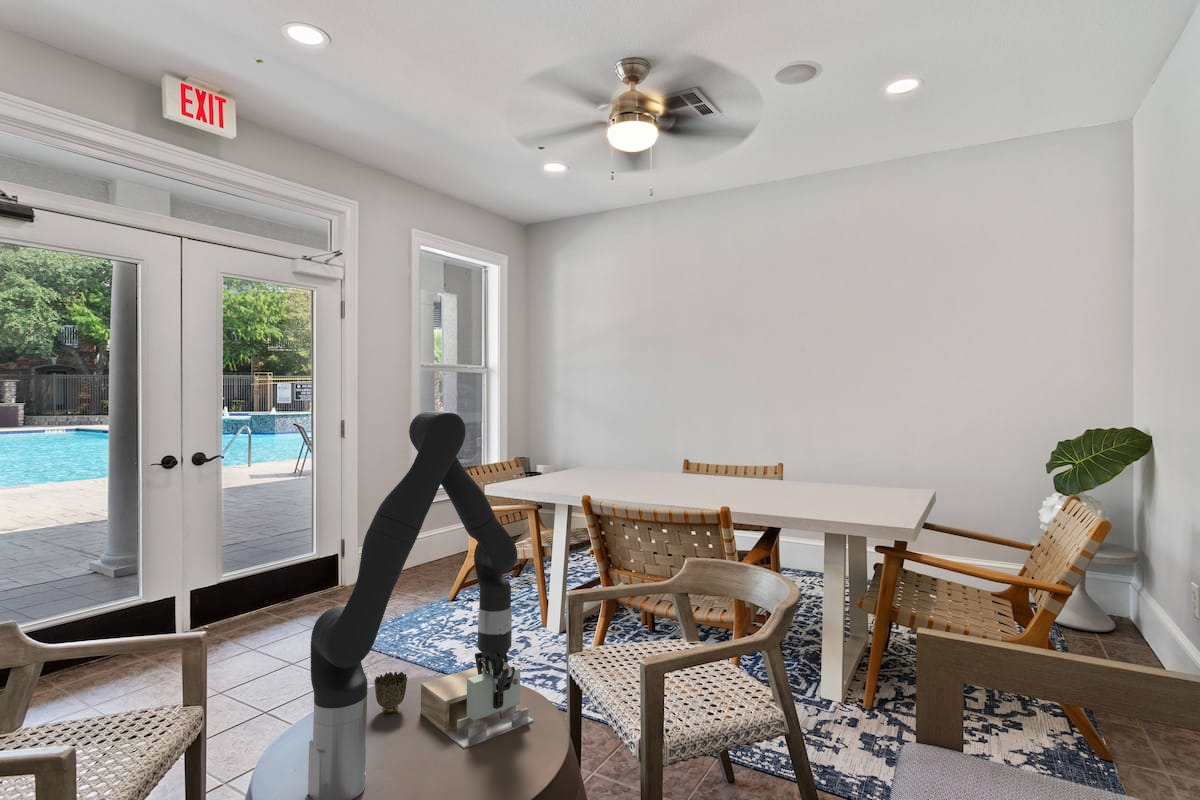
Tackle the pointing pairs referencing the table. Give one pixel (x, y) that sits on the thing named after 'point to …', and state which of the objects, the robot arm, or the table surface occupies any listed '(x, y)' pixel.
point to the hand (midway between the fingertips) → (493, 704)
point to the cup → (390, 691)
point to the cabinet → (465, 711)
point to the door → (490, 695)
